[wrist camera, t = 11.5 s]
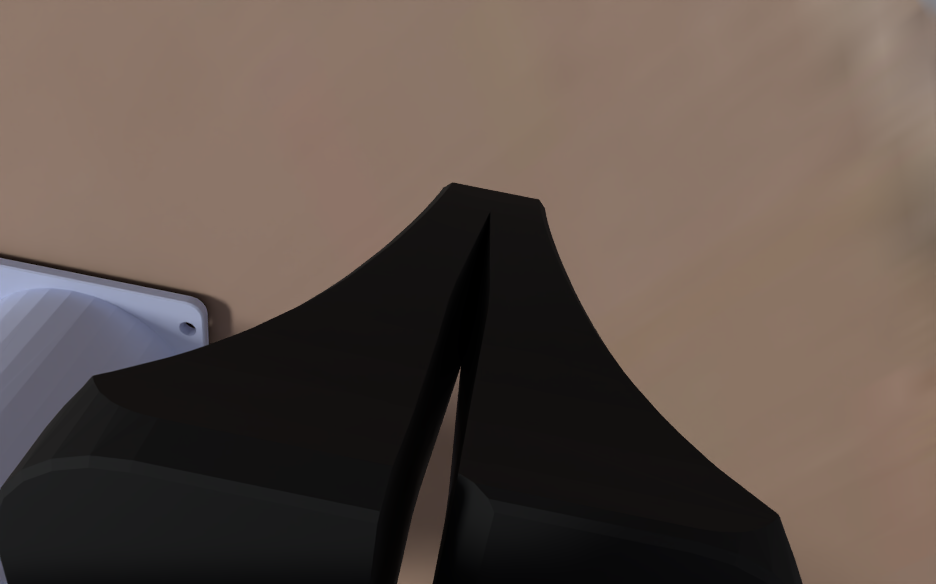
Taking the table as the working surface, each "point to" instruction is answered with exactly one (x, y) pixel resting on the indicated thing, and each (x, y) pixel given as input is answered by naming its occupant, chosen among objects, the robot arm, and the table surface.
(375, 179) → the table surface
